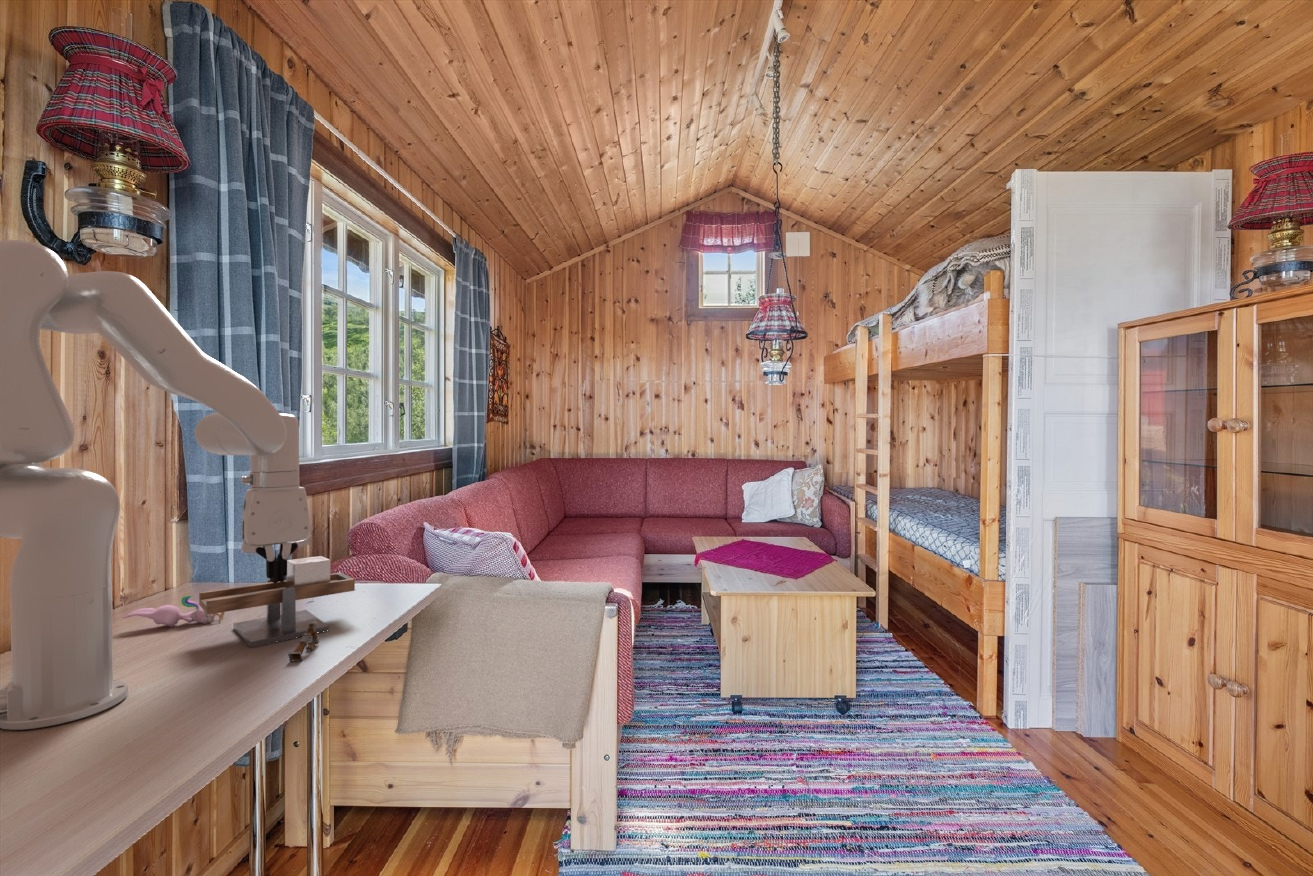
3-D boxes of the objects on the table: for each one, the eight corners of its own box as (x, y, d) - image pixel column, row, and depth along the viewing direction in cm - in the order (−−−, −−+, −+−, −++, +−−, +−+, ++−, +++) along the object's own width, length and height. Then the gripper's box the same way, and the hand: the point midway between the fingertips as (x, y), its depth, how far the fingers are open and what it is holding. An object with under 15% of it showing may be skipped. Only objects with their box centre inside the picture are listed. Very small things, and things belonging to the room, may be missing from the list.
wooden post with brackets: (324, 638, 105) (320, 617, 103) (305, 674, 97) (299, 652, 95) (313, 638, 104) (308, 618, 103) (293, 674, 97) (287, 653, 95)
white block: (294, 591, 111) (294, 564, 111) (286, 586, 114) (286, 560, 114) (330, 586, 115) (330, 559, 115) (321, 581, 119) (321, 556, 119)
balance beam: (207, 614, 100) (207, 601, 100) (199, 604, 106) (199, 592, 106) (354, 590, 116) (354, 579, 116) (340, 583, 122) (340, 572, 122)
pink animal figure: (224, 623, 120) (128, 621, 113) (229, 592, 120) (134, 589, 114) (217, 632, 114) (116, 630, 108) (223, 600, 115) (123, 597, 108)
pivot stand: (250, 648, 102) (250, 597, 102) (233, 628, 112) (233, 582, 112) (328, 631, 111) (328, 584, 110) (306, 614, 121) (305, 572, 120)
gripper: (230, 485, 103) (232, 593, 103) (326, 479, 113) (328, 577, 114) (221, 482, 108) (223, 585, 108) (314, 477, 119) (315, 570, 119)
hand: (277, 580), depth 111 cm, fingers closed
